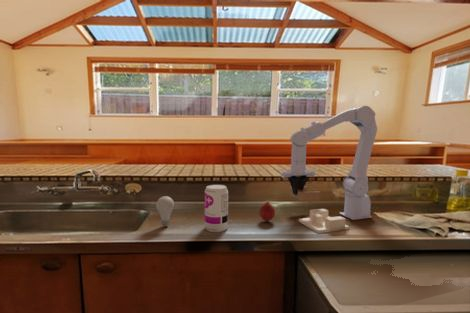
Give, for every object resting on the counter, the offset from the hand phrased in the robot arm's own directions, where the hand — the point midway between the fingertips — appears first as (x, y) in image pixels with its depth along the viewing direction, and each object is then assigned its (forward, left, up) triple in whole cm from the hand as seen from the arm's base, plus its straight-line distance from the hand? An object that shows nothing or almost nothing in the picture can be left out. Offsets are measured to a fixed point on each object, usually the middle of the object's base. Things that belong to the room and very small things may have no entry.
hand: (297, 194), depth 104 cm
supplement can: (+35, +4, -9) cm, 36 cm away
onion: (+15, +3, -9) cm, 18 cm away
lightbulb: (+52, -3, -9) cm, 53 cm away
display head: (-3, +13, -9) cm, 16 cm away
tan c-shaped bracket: (-3, 0, -2) cm, 4 cm away
